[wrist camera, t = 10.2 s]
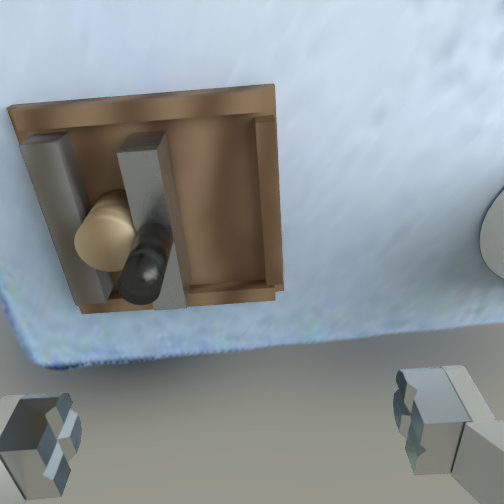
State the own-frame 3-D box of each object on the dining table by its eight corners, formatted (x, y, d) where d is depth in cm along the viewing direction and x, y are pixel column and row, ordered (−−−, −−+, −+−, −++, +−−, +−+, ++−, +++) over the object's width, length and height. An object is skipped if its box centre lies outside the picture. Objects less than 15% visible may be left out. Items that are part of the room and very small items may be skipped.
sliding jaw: (166, 130, 37) (138, 187, 27) (191, 276, 45) (177, 363, 35) (130, 133, 38) (89, 191, 27) (162, 279, 45) (139, 366, 35)
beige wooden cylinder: (143, 187, 40) (129, 216, 35) (153, 235, 43) (141, 269, 38) (88, 191, 40) (66, 221, 35) (102, 238, 43) (83, 273, 38)
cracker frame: (273, 83, 37) (277, 94, 33) (283, 285, 48) (286, 308, 44) (12, 104, 37) (-11, 117, 34) (79, 299, 48) (67, 324, 45)
